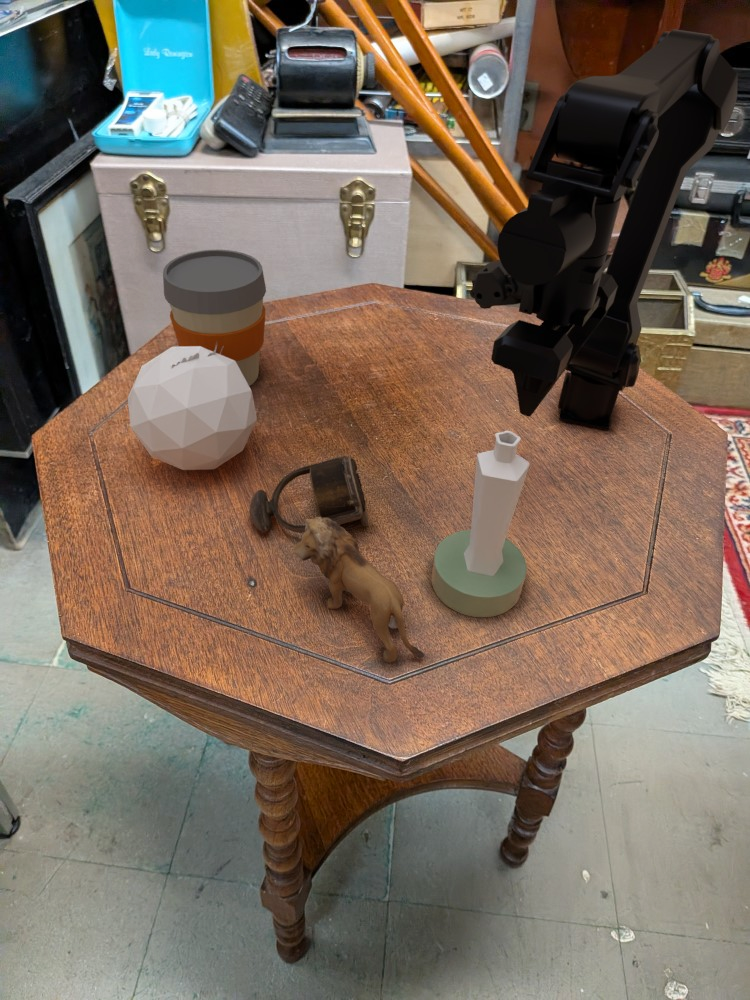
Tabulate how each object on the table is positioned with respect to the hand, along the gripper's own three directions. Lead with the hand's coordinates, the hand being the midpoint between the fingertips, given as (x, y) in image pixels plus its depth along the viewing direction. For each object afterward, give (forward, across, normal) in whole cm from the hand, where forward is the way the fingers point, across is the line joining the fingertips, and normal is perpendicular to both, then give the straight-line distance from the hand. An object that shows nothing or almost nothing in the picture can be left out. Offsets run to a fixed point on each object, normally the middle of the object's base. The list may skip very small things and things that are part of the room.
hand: (541, 393), depth 75 cm
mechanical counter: (+13, +16, -18) cm, 28 cm away
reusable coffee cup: (+13, 0, -43) cm, 45 cm away
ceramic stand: (+13, +16, +2) cm, 21 cm away
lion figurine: (+13, +26, -6) cm, 30 cm away
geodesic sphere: (+13, +15, -34) cm, 40 cm away
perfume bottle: (+10, +16, +2) cm, 19 cm away
